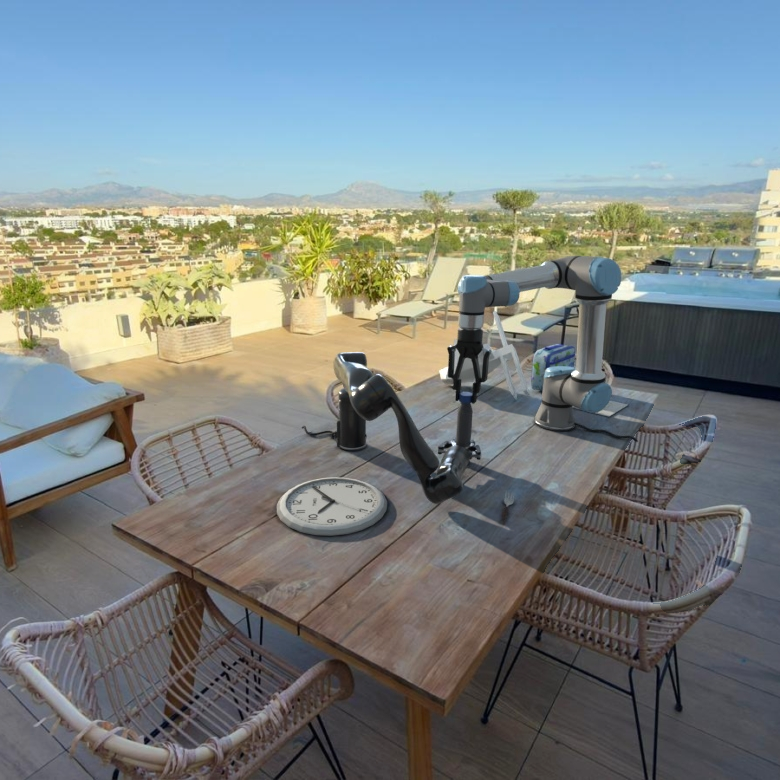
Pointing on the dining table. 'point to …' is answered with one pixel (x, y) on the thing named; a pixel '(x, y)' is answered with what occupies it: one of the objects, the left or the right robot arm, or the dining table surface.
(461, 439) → the bottle
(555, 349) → the lunch box
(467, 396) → the cap
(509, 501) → the fork
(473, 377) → the white plastic object
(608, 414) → the invitation card
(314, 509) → the wall clock
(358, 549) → the dining table surface
